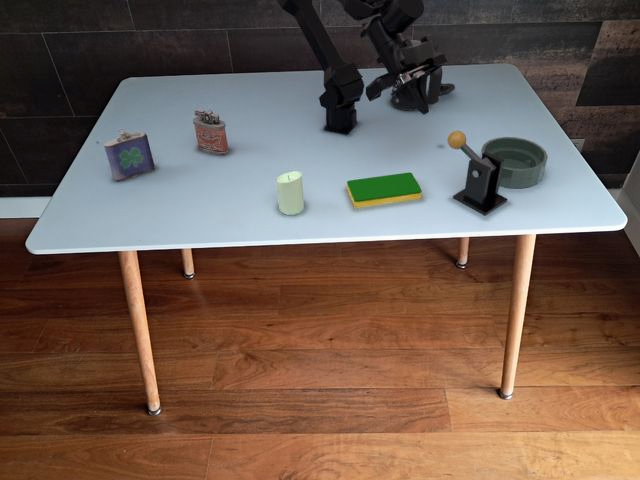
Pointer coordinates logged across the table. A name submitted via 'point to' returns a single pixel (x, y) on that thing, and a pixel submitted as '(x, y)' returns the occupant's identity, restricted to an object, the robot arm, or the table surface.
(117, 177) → the flask
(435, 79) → the milk frother
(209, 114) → the lighter
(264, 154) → the table surface
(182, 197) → the table surface
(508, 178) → the basin
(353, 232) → the table surface
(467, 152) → the tap lever
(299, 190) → the candle
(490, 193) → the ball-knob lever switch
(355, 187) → the dish sponge
